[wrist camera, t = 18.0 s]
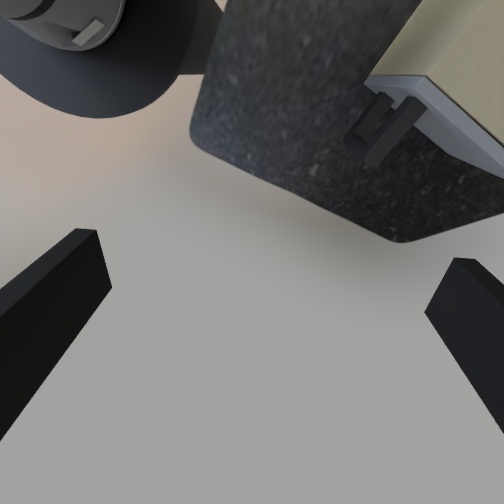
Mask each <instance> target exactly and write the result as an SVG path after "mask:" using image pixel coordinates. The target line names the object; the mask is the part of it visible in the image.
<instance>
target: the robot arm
mask: <svg viewBox="0 0 504 504" xmlns="http://www.w3.org/2000/svg"><path fill="white" fill-rule="evenodd" d="M127 6H128V0H0V17H1V18H5V19H6V20H8V21H9V22H11V23H12V24H14V25H15V26H17V27H18V28H20V29H21V30H23V31H24V32H26V33H27V34H29V35H30V36H32V37H33V38H35V39H37V40H39V41H41V42H43V43H45V44H47V45H49V46H52V47H55V48H58V49H62V50H70V51H90V50H93V49H96V48H99V47H101V46H102V45H104V44H106V43H107V42H108V41H109V40H110V39H111V38H112V37H113V36H114V35H115V34H116V32H117V31H118V29H119V28H120V26H121V24H122V22H123V19H124V17H125V14H126V10H127ZM111 288H112V285H111V282H110V278H109V274H108V271H107V267H106V263H105V259H104V256H103V252H102V248H101V245H100V241H99V238H98V234H97V230H91V229H79V228H78V229H77V228H76V229H74V230H73V231H72V232H71V233H69V234H68V235H67V236H66V237H64V238H63V239H62V240H61V241H59V242H58V243H57V244H56V245H55V246H53V247H52V248H51V249H49V250H48V251H47V252H46V253H45V254H43V255H42V256H41V257H40V258H38V259H37V260H36V261H35V262H34V263H32V264H31V265H30V266H28V267H27V268H26V269H25V270H23V271H22V272H21V273H20V274H18V275H17V276H16V277H15V278H13V279H12V280H11V281H10V282H8V283H7V284H6V285H5V286H4V287H2V288H1V289H0V441H1V440H2V438H3V437H4V435H5V434H6V433H7V431H8V430H9V428H10V427H11V425H12V424H13V423H14V422H15V420H16V419H17V418H18V416H19V415H20V413H21V412H22V411H23V409H24V408H25V407H26V405H27V404H28V402H29V401H30V399H31V398H32V397H33V396H34V394H35V393H36V391H37V390H38V389H39V387H40V386H41V385H42V383H43V382H44V380H45V379H46V378H47V376H48V375H49V374H50V372H51V371H52V369H53V368H54V367H55V365H56V364H57V363H58V361H59V360H60V359H61V357H62V356H63V354H64V353H65V352H66V350H67V349H68V348H69V346H70V345H71V343H72V342H73V341H74V339H75V338H76V337H77V335H78V334H79V332H80V331H81V330H82V328H83V327H84V325H85V324H86V323H87V321H88V320H89V319H90V317H91V316H92V315H93V313H94V312H95V310H96V309H97V308H98V306H99V305H100V303H101V302H102V301H103V299H104V298H105V297H106V295H107V294H108V293H109V291H110V290H111ZM424 313H425V314H426V316H427V317H428V319H429V320H430V322H431V323H432V325H433V326H434V328H435V329H436V331H437V332H438V334H439V335H440V337H441V338H442V340H443V342H444V343H445V345H446V346H447V348H448V349H449V351H450V352H451V354H452V355H453V357H454V358H455V360H456V361H457V363H458V364H459V366H460V368H461V369H462V371H463V372H464V374H465V375H466V377H467V378H468V380H469V381H470V383H471V384H472V386H473V387H474V389H475V390H476V392H477V394H478V395H479V397H480V398H481V399H482V401H483V403H484V404H485V405H486V407H487V409H488V410H489V412H490V413H491V415H492V416H493V418H494V419H495V421H496V423H497V424H498V425H499V427H500V429H501V430H502V432H503V433H504V285H503V284H502V283H501V282H500V281H499V280H498V279H496V277H495V276H493V275H492V274H491V273H490V272H489V271H488V270H487V269H486V268H485V267H483V266H482V265H481V264H480V263H479V262H478V261H477V260H476V259H468V258H454V259H453V260H452V262H451V264H450V266H449V268H448V270H447V271H446V273H445V275H444V277H443V279H442V281H441V282H440V284H439V286H438V288H437V290H436V292H435V293H434V295H433V297H432V299H431V301H430V303H429V304H428V306H427V308H426V310H425V312H424Z"/></svg>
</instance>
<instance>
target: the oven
mask: <svg viewBox="0 0 504 504" xmlns="http://www.w3.org/2000/svg"><path fill="white" fill-rule="evenodd" d="M370 75H382V76H425V77H426V78H427V79H428V80H429V81H431V82H432V83H433V84H434V85H435V86H436V87H437V88H438V89H439V90H440V91H442V92H443V93H444V94H445V95H446V96H447V97H448V98H449V99H450V100H451V101H453V102H454V103H455V104H456V105H457V106H458V107H459V108H460V109H461V110H462V111H464V112H465V113H466V114H467V115H468V116H469V117H470V118H471V119H472V120H473V121H475V122H476V123H477V124H478V125H479V126H480V127H481V128H482V129H483V130H484V131H486V132H487V133H488V134H489V135H490V136H491V137H492V138H493V139H494V140H495V141H497V142H498V143H499V144H500V145H501V146H502V147H503V148H504V0H422V2H421V3H420V4H419V6H418V7H417V9H416V10H415V11H414V13H413V14H412V16H411V17H410V18H409V20H408V21H407V23H406V24H405V25H404V27H403V28H402V30H401V31H400V32H399V34H398V35H397V37H396V38H395V39H394V41H393V42H392V44H391V45H390V46H389V48H388V49H387V51H386V52H385V53H384V55H383V56H382V58H381V59H380V60H379V62H378V63H377V65H376V66H375V67H374V69H373V70H372V72H371V73H370Z"/></svg>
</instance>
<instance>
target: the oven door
mask: <svg viewBox="0 0 504 504" xmlns="http://www.w3.org/2000/svg"><path fill="white" fill-rule="evenodd" d="M364 84H365V85H366V86H367V87H368V88H370V89H371V90H372V91H373V92H374V93H376V94H377V95H376V96H375V97H374V99H373V100H372V101H371V103H370V104H369V105H368V107H367V108H366V109H365V110H364V112H363V113H362V114H361V116H360V117H359V118H358V120H357V121H356V122H355V123H354V125H353V126H352V127H351V129H350V130H349V131H348V133H347V134H346V135H345V137H344V139H343V143H344V145H345V146H346V147H347V148H349V149H350V150H351V151H352V152H353V153H354V154H355V155H356V156H357V157H358V158H359V159H360V160H361V161H362V162H364V163H365V164H366V165H367V166H368V167H375V166H377V165H378V164H379V163H380V162H381V161H382V160H383V159H384V158H385V157H386V155H387V154H388V153H389V152H390V151H391V150H392V149H393V147H394V146H395V145H396V144H397V143H398V142H399V141H400V139H401V138H402V137H403V136H404V135H405V134H406V133H407V132H408V130H409V129H410V128H411V127H412V126H413V125H414V126H415V127H416V128H418V129H419V130H420V131H421V132H422V133H424V134H425V135H426V136H427V137H428V138H430V139H431V140H432V141H433V142H434V143H436V144H437V145H438V146H439V147H440V148H442V149H443V150H444V151H445V152H446V153H448V154H449V155H452V156H454V157H456V158H458V159H461V160H463V161H465V162H467V163H470V164H472V165H474V166H476V167H478V168H481V169H483V170H485V171H487V172H490V173H492V174H494V175H496V176H499V177H501V178H503V179H504V148H503V147H502V146H501V145H500V144H499V143H498V142H497V141H495V140H494V139H493V138H492V137H491V136H490V135H489V134H488V133H487V132H486V131H484V130H483V129H482V128H481V127H480V126H479V125H478V124H477V123H476V122H475V121H473V120H472V119H471V118H470V117H469V116H468V115H467V114H466V113H465V112H464V111H462V110H461V109H460V108H459V107H458V106H457V105H456V104H455V103H454V102H453V101H451V100H450V99H449V98H448V97H447V96H446V95H445V94H444V93H443V92H442V91H440V90H439V89H438V88H437V87H436V86H435V85H434V84H433V83H432V82H431V81H429V80H428V79H427V78H426V77H425V76H382V75H369V76H368V78H367V79H366V81H365V82H364ZM390 106H391V107H392V108H394V109H395V111H394V113H393V114H392V115H391V116H390V118H389V119H388V120H387V121H386V122H385V124H384V125H383V126H382V127H381V128H380V130H379V131H378V132H377V133H376V135H375V136H374V137H373V138H372V139H371V141H370V142H369V143H367V142H366V141H365V140H364V138H365V137H366V136H367V135H368V133H369V132H370V131H371V130H372V128H373V127H374V126H375V125H376V124H377V122H378V121H379V120H380V119H381V117H382V116H383V115H384V114H385V112H386V111H387V110H388V109H389V107H390Z"/></svg>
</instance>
